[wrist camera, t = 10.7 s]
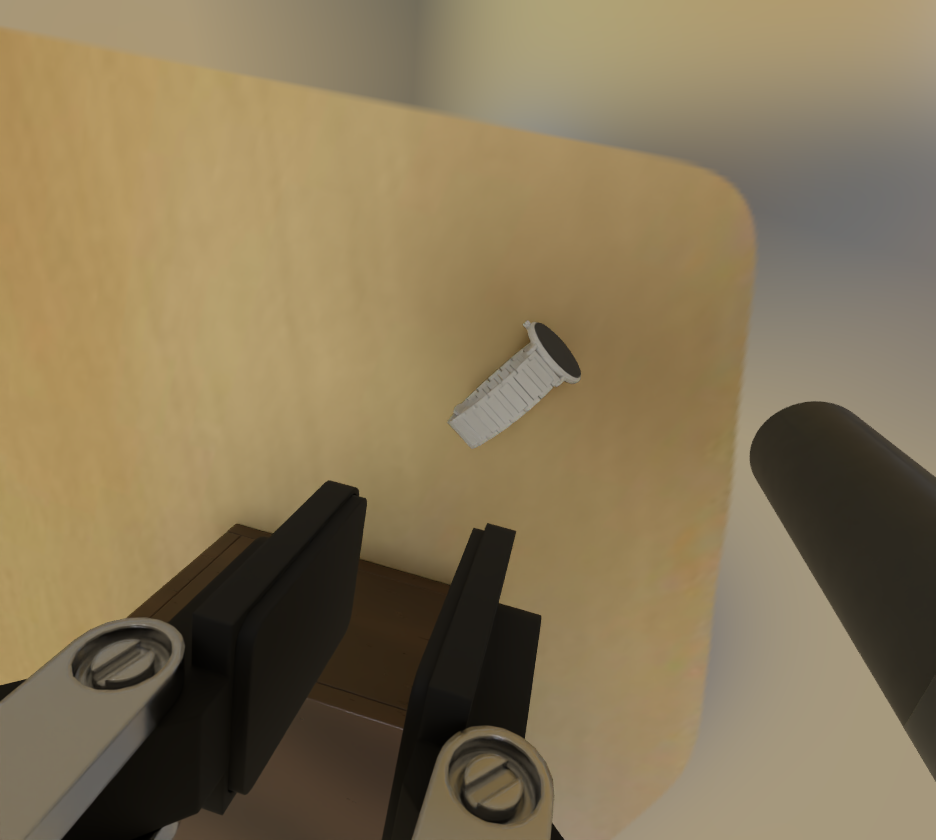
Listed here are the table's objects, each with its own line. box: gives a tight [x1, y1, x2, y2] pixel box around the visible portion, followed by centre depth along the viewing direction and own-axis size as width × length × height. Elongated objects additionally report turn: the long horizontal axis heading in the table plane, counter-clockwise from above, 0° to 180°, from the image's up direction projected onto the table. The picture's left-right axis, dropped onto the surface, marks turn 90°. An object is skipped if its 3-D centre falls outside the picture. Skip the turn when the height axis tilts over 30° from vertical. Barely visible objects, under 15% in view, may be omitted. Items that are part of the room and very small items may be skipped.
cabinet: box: [127, 524, 450, 840], centre depth 28 cm, size 16×13×9 cm
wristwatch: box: [447, 320, 581, 449], centre depth 22 cm, size 3×5×5 cm, turn 133°
